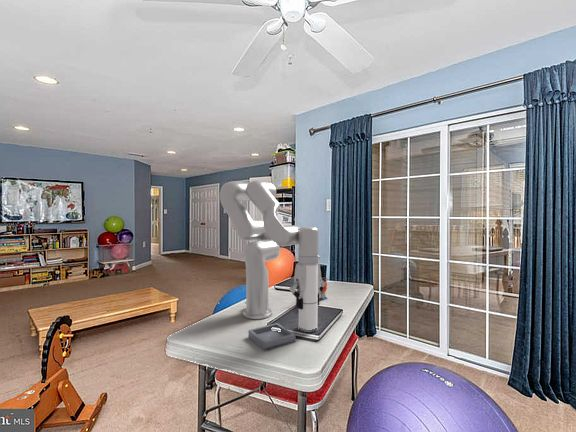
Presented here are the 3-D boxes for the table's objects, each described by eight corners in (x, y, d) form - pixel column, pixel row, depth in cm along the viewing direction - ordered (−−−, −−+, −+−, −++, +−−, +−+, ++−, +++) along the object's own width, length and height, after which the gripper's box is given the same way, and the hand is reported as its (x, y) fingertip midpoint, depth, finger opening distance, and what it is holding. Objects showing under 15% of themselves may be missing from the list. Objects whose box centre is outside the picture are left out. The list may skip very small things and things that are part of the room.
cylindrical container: (316, 324, 117) (316, 261, 116) (318, 332, 109) (319, 265, 108) (297, 325, 116) (298, 261, 115) (299, 333, 109) (299, 265, 108)
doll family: (312, 310, 133) (312, 281, 132) (293, 306, 138) (293, 278, 137) (329, 297, 151) (329, 271, 151) (312, 294, 156) (312, 269, 156)
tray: (248, 337, 106) (248, 330, 106) (277, 329, 112) (277, 322, 112) (264, 351, 96) (264, 343, 96) (295, 341, 102) (295, 334, 102)
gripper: (319, 256, 120) (319, 299, 120) (283, 260, 110) (283, 307, 111) (332, 259, 113) (332, 304, 114) (295, 264, 104) (294, 314, 105)
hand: (308, 305), depth 113 cm, fingers closed on cylindrical container, 7 cm apart
